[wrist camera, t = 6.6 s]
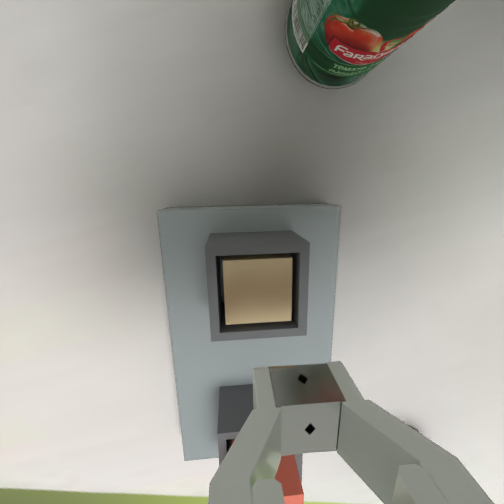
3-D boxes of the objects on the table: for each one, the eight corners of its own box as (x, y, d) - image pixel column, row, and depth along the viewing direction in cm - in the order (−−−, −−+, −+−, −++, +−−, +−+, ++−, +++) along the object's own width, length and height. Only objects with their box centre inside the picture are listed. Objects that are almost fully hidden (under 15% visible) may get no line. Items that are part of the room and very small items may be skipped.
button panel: (166, 207, 22) (134, 218, 15) (326, 203, 23) (372, 211, 16) (189, 432, 28) (174, 520, 20) (315, 420, 29) (345, 500, 22)
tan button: (223, 246, 20) (222, 260, 16) (280, 244, 20) (292, 257, 16) (226, 299, 21) (225, 324, 17) (280, 296, 21) (291, 320, 17)
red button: (231, 439, 19) (232, 502, 16) (289, 433, 20) (303, 494, 16) (233, 483, 20) (234, 552, 17) (288, 477, 21) (301, 543, 17)
